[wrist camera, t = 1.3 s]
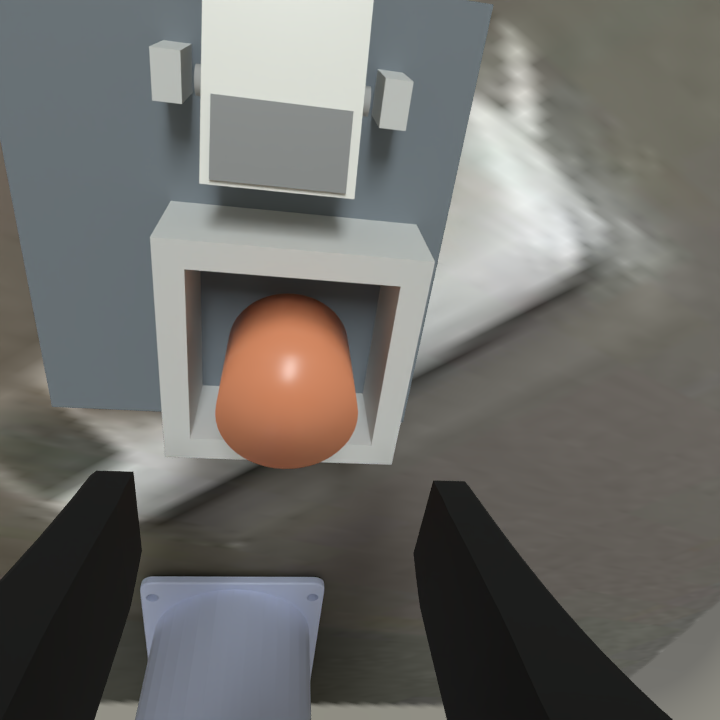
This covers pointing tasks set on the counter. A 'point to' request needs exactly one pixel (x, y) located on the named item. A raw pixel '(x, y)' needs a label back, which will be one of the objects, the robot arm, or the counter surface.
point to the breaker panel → (219, 210)
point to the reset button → (287, 383)
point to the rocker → (283, 94)
